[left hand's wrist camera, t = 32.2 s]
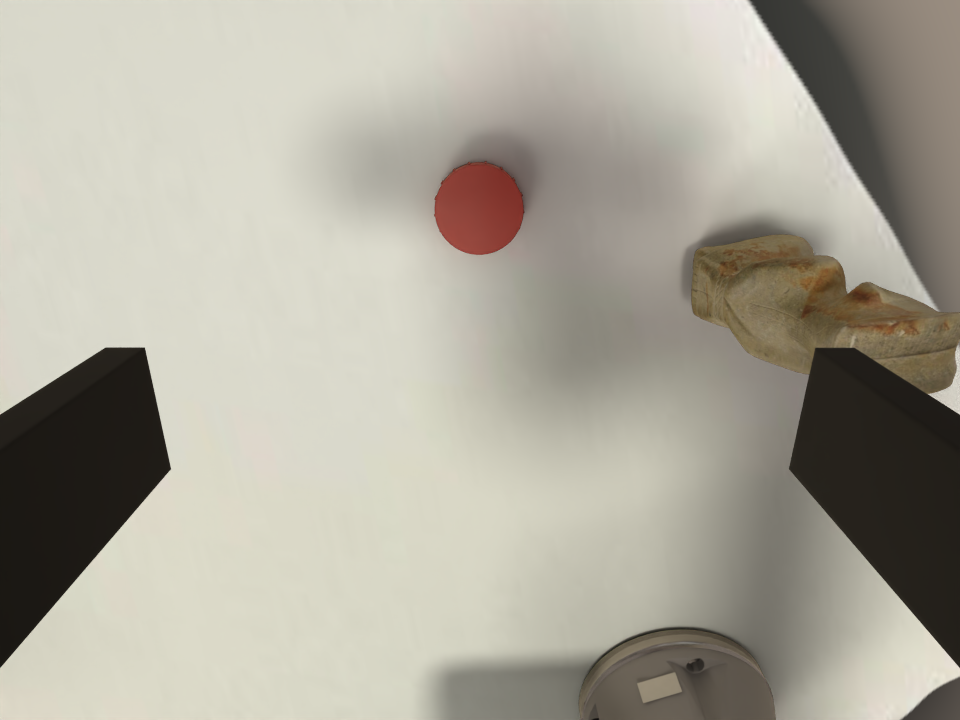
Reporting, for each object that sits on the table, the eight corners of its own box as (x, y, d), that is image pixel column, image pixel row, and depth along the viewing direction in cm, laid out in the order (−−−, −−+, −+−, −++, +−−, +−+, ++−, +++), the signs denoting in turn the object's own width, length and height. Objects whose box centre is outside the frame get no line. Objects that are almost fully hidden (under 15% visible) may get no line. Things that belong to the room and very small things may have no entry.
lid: (505, 261, 38) (506, 267, 36) (424, 234, 37) (422, 239, 36) (535, 179, 36) (538, 181, 35) (450, 148, 35) (449, 150, 34)
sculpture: (788, 314, 39) (959, 429, 25) (673, 317, 39) (780, 433, 25) (804, 220, 37) (1001, 288, 23) (682, 224, 37) (804, 294, 23)
